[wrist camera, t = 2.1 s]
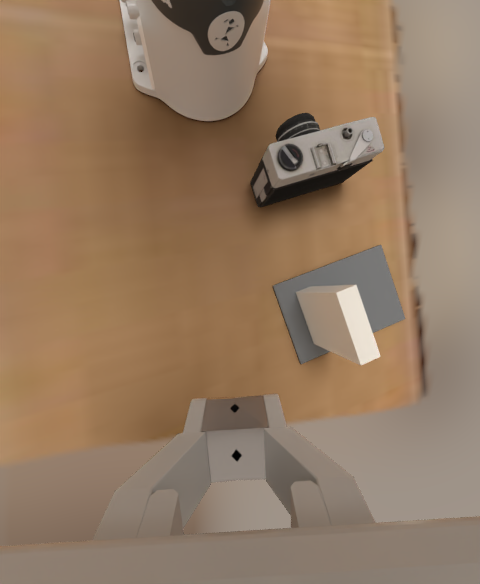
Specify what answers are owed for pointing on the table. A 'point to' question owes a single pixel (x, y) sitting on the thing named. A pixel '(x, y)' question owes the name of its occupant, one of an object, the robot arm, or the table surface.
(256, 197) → the camera
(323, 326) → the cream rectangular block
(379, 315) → the mat
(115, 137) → the table surface
